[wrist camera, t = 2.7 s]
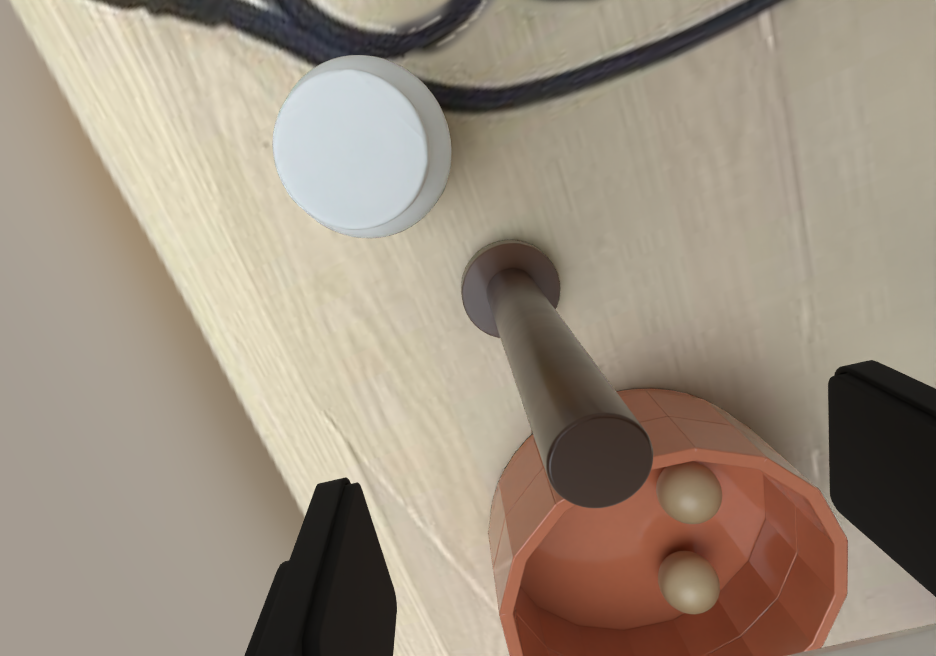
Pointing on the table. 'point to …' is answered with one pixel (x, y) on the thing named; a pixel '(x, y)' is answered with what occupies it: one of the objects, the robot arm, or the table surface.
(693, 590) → the bead
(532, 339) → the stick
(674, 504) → the bead
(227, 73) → the table surface
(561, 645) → the bowl
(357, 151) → the supplement bottle
